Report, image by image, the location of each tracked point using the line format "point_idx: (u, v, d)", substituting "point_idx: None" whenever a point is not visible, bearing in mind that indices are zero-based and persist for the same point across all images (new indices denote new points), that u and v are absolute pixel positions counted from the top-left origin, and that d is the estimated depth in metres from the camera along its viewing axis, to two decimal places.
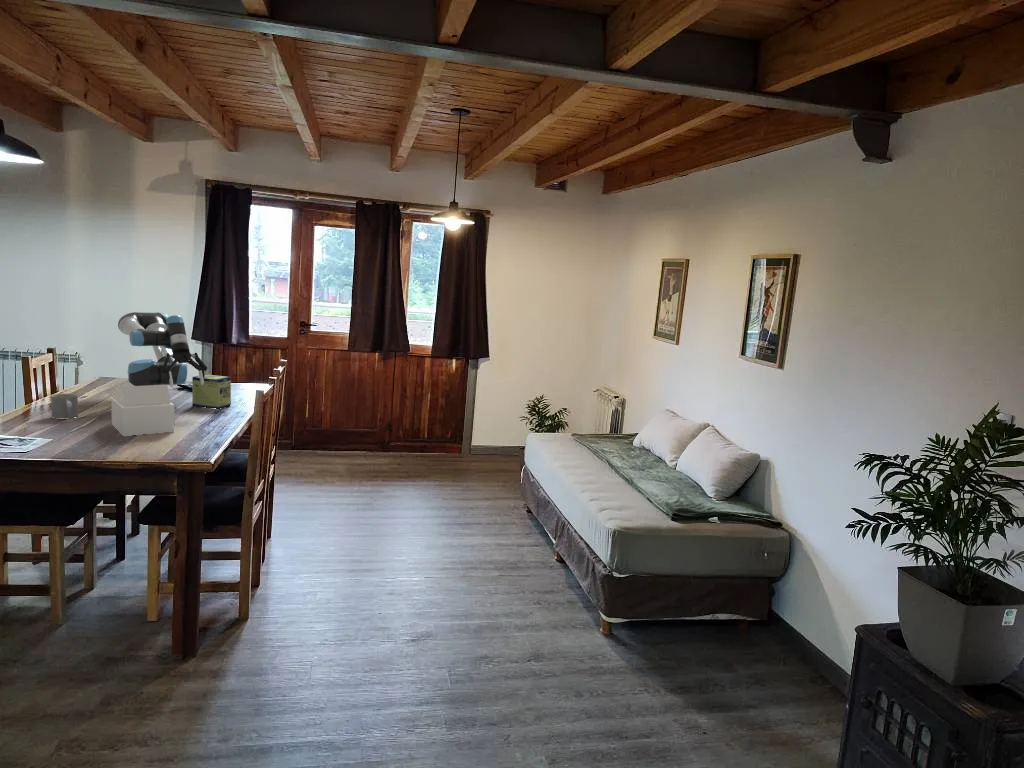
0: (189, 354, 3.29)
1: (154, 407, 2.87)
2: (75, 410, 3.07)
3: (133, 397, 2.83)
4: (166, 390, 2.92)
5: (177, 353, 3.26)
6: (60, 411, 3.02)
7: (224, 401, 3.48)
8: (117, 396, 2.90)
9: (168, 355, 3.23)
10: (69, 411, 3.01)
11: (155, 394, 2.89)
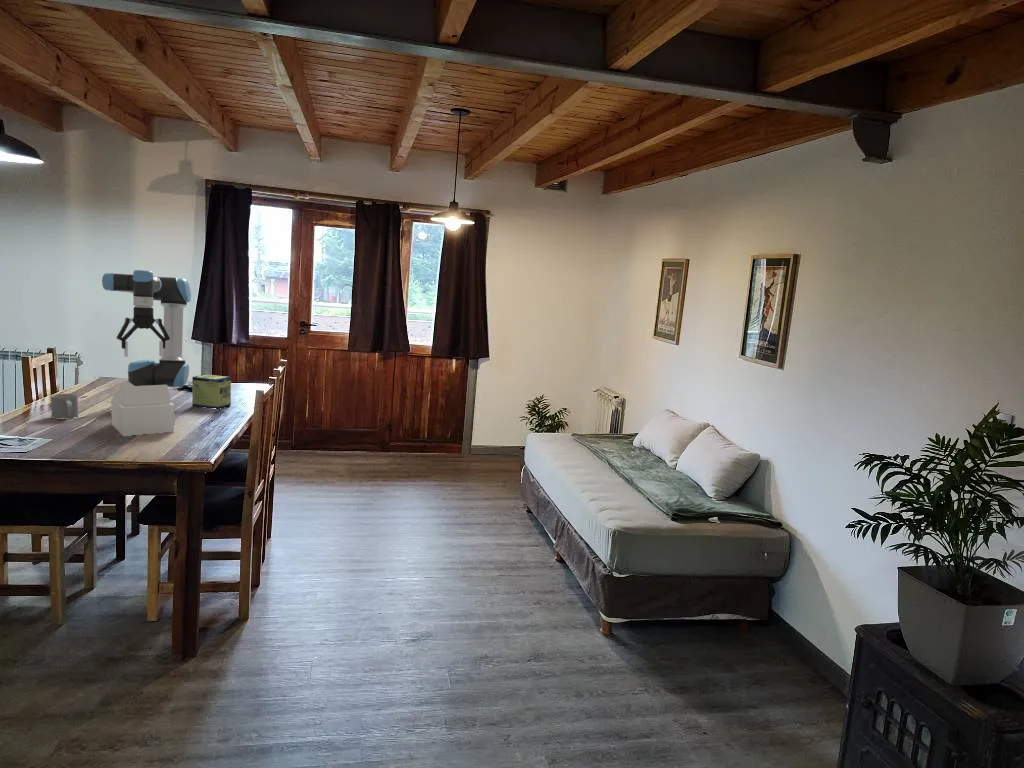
0: (152, 320, 2.94)
1: (154, 407, 2.87)
2: (75, 410, 3.07)
3: (133, 397, 2.83)
4: (166, 390, 2.92)
5: (138, 318, 2.90)
6: (60, 411, 3.02)
7: (224, 401, 3.48)
8: (117, 396, 2.90)
9: (128, 321, 2.87)
10: (69, 411, 3.01)
11: (155, 394, 2.89)
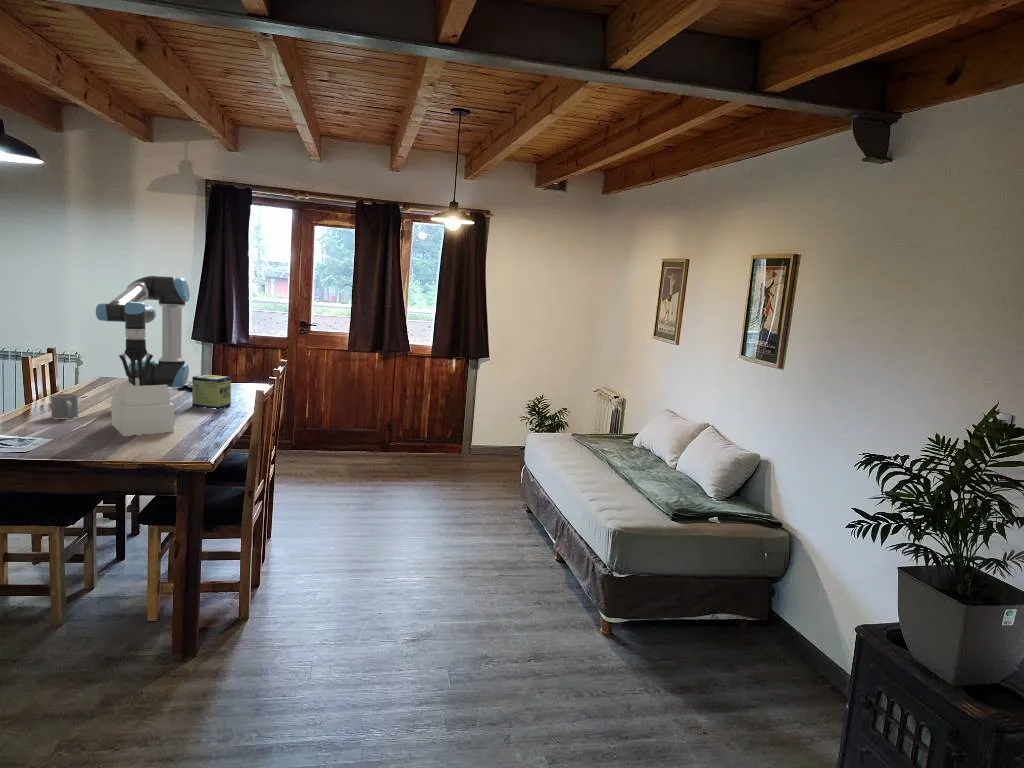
0: (144, 352, 2.93)
1: (154, 407, 2.87)
2: (75, 410, 3.07)
3: (133, 397, 2.83)
4: (166, 390, 2.92)
5: (129, 349, 2.88)
6: (60, 411, 3.02)
7: (224, 401, 3.48)
8: (117, 396, 2.90)
9: (123, 358, 2.87)
10: (69, 411, 3.01)
11: (155, 394, 2.89)
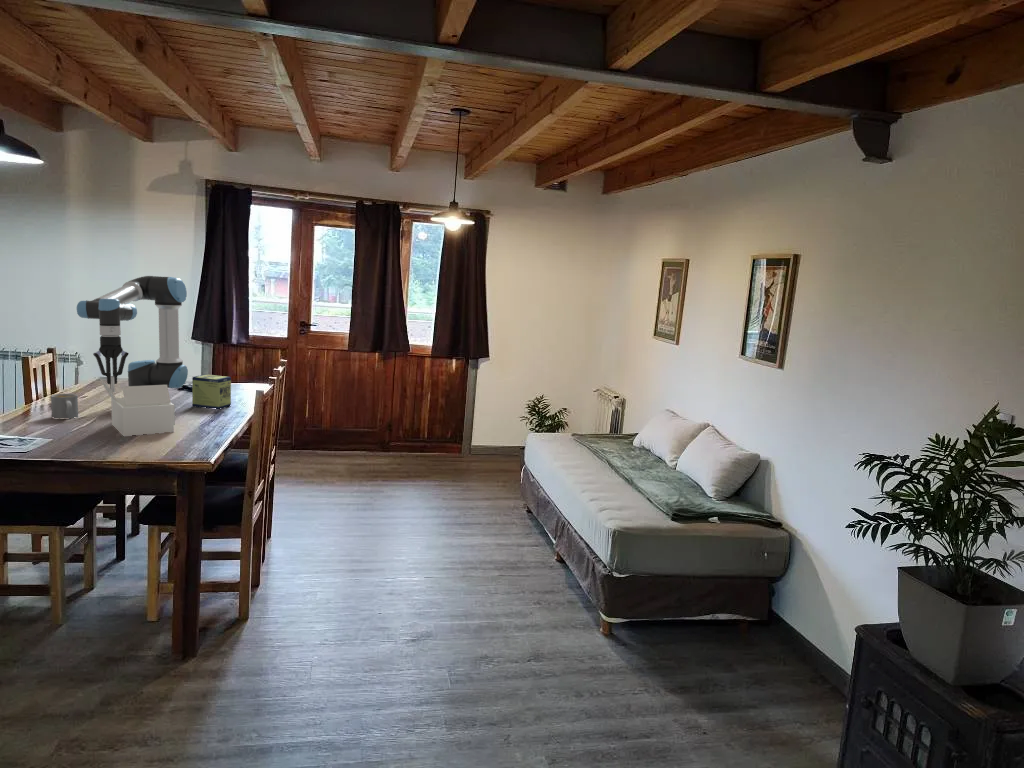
0: (120, 350, 2.86)
1: (154, 407, 2.87)
2: (75, 410, 3.07)
3: (133, 397, 2.83)
4: (166, 390, 2.92)
5: (103, 347, 2.82)
6: (60, 411, 3.02)
7: (224, 401, 3.48)
8: (111, 396, 2.88)
9: (97, 355, 2.81)
10: (69, 411, 3.01)
11: (155, 394, 2.89)
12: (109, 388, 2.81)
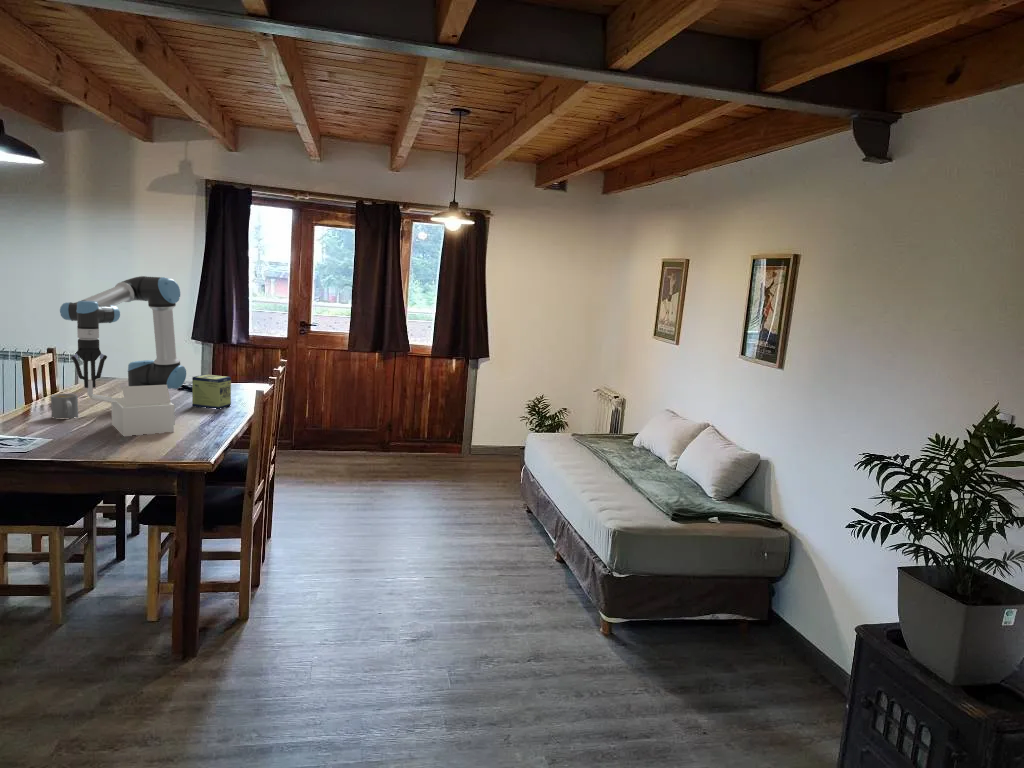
0: (98, 353, 2.81)
1: (154, 407, 2.87)
2: (75, 410, 3.07)
3: (133, 397, 2.83)
4: (166, 390, 2.92)
5: (81, 350, 2.77)
6: (60, 411, 3.02)
7: (224, 401, 3.48)
8: (109, 400, 2.88)
9: (74, 359, 2.76)
10: (69, 411, 3.01)
11: (155, 394, 2.89)
12: (99, 399, 2.79)
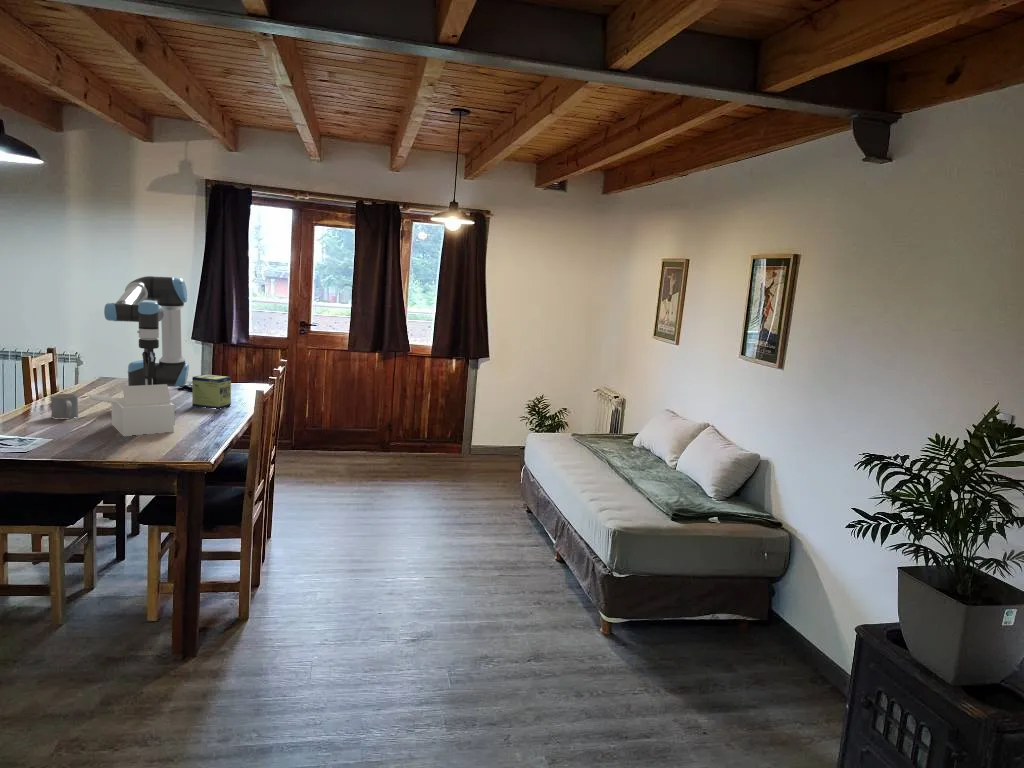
0: (147, 353, 2.85)
1: (154, 407, 2.87)
2: (75, 410, 3.07)
3: (133, 396, 2.83)
4: (166, 390, 2.92)
5: (144, 348, 2.90)
6: (60, 411, 3.02)
7: (224, 401, 3.48)
8: (109, 400, 2.88)
9: None
10: (69, 411, 3.01)
11: (155, 394, 2.89)
12: (99, 399, 2.79)
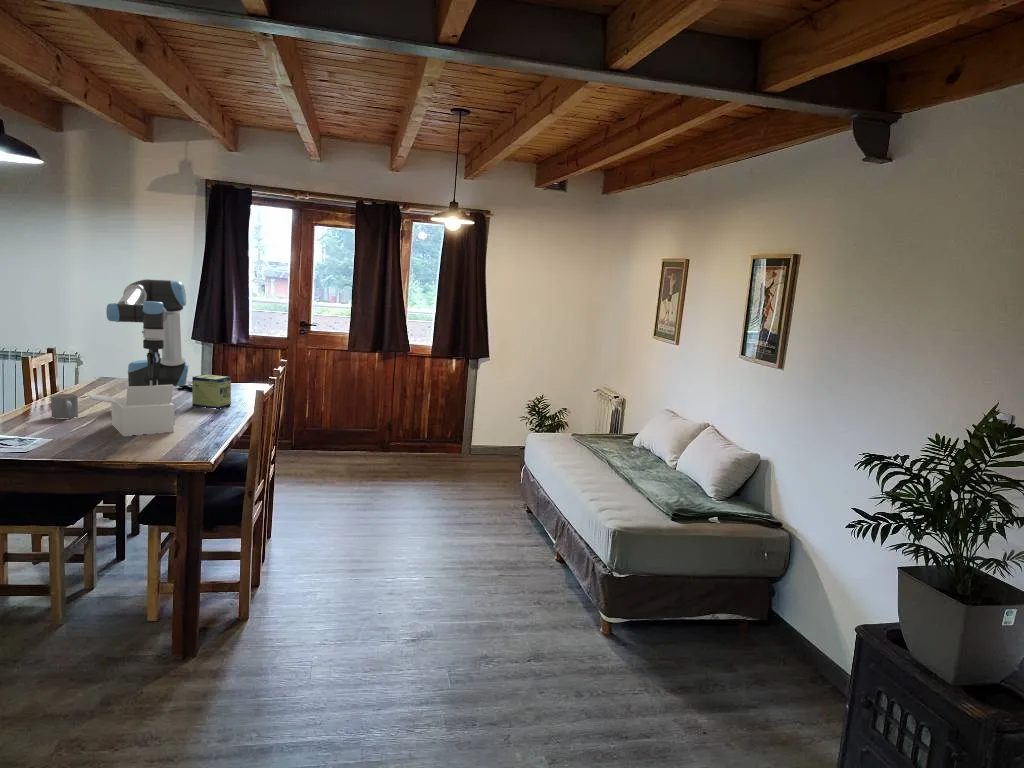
0: (152, 354, 2.79)
1: (154, 407, 2.87)
2: (75, 410, 3.07)
3: (135, 397, 2.80)
4: (170, 391, 2.87)
5: (149, 349, 2.83)
6: (60, 411, 3.02)
7: (224, 401, 3.48)
8: (109, 400, 2.88)
9: (147, 357, 2.86)
10: (69, 411, 3.01)
11: (158, 395, 2.85)
12: (99, 399, 2.79)
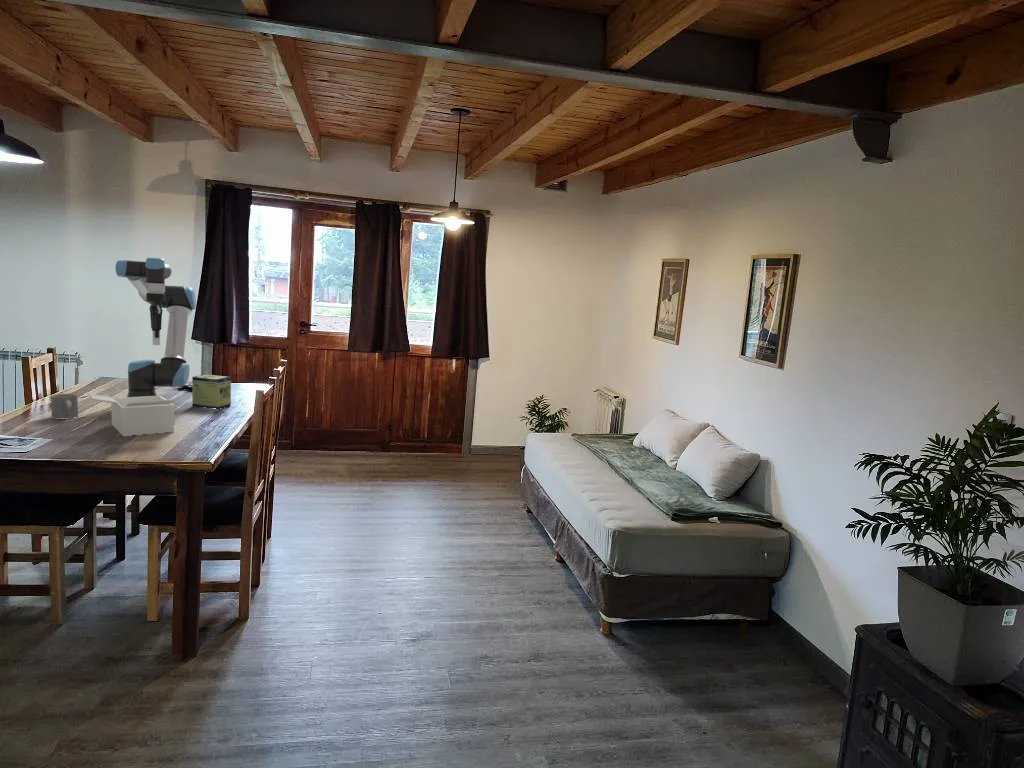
0: (154, 306, 3.05)
1: (154, 407, 2.87)
2: (75, 410, 3.07)
3: (137, 404, 2.79)
4: (172, 401, 2.85)
5: (151, 302, 3.09)
6: (60, 411, 3.02)
7: (224, 401, 3.48)
8: (109, 400, 2.88)
9: (150, 309, 3.11)
10: (69, 411, 3.01)
11: (160, 403, 2.84)
12: (99, 399, 2.79)
